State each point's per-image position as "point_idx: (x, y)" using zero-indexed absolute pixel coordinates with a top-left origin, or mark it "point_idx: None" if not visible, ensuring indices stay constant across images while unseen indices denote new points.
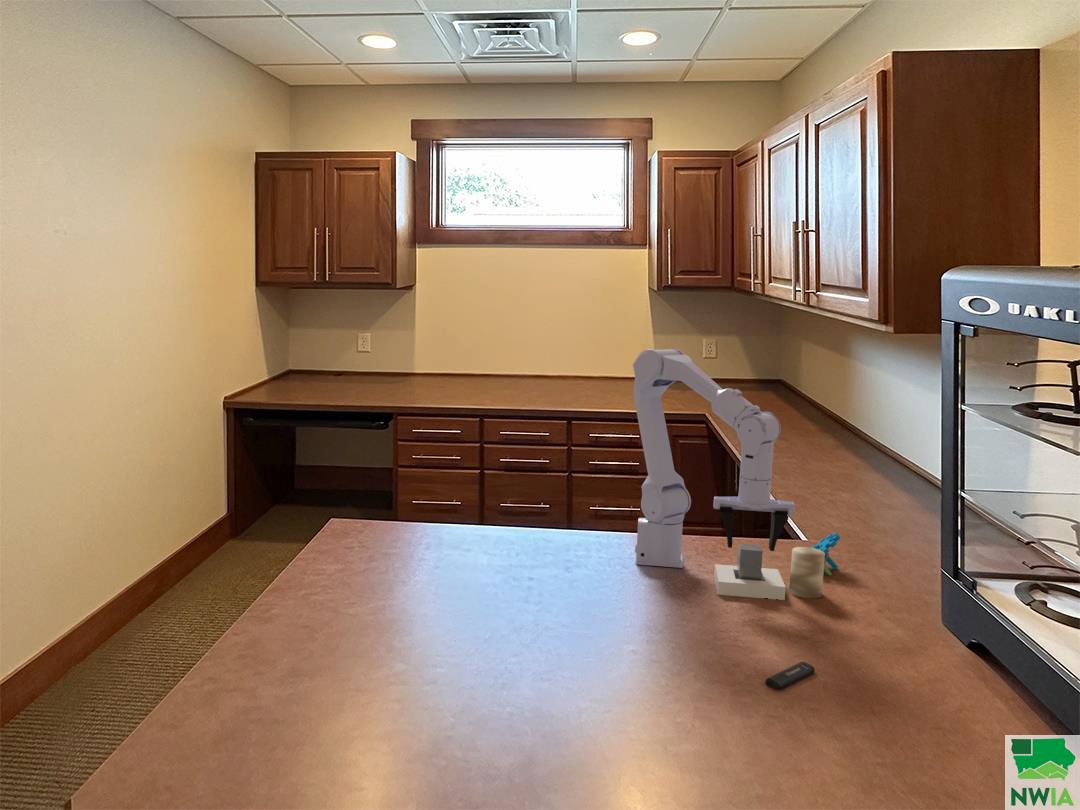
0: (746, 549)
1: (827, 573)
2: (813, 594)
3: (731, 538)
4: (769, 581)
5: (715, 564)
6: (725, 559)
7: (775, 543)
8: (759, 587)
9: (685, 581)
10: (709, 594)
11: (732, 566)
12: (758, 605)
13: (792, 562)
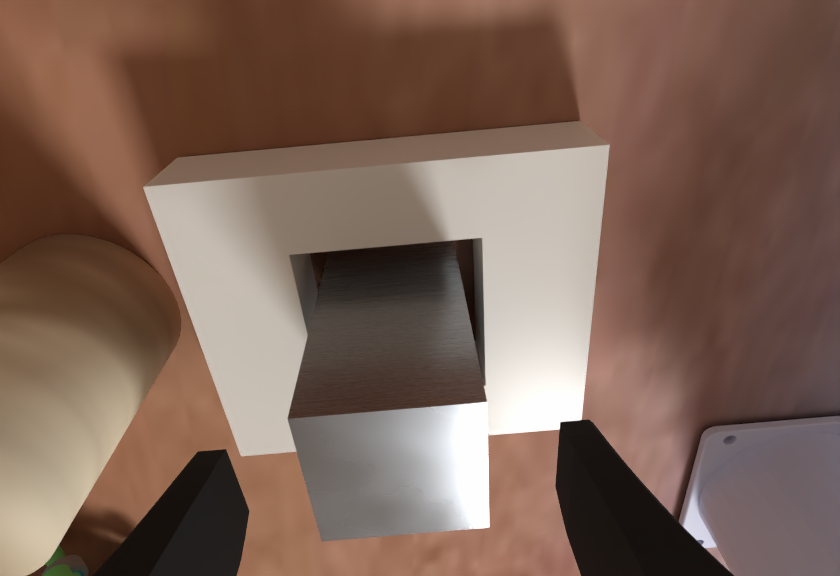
0: (433, 413)
1: None
2: (18, 253)
3: (604, 484)
4: (262, 258)
5: None
6: (487, 560)
7: (152, 507)
8: (323, 166)
9: (730, 275)
10: (631, 110)
11: None
12: (326, 2)
13: (83, 411)
